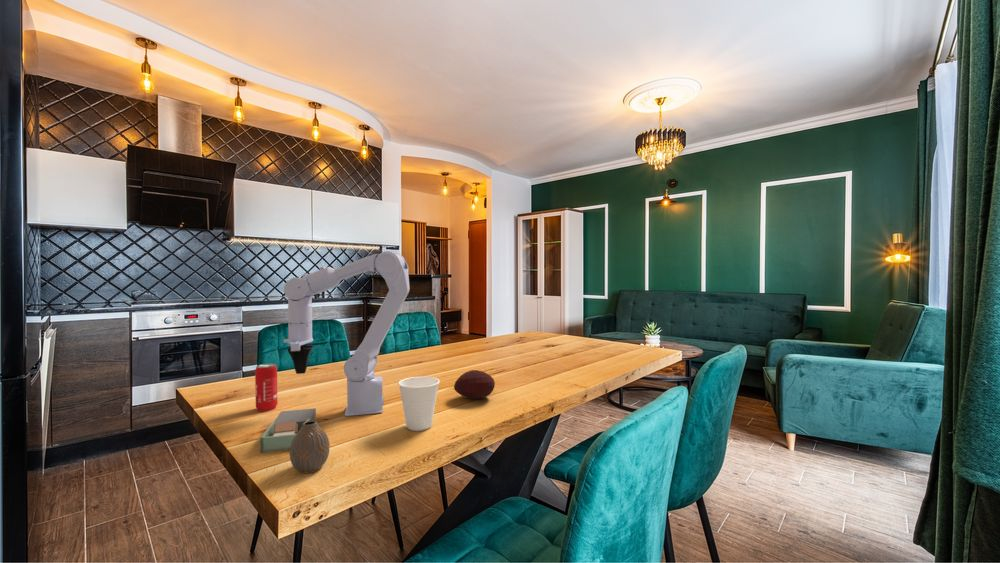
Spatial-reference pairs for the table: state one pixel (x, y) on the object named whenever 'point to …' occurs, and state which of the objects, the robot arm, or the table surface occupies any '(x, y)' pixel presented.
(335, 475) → the table surface
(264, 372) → the beverage can
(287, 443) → the box
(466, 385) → the dark brown oval lump
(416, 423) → the cup
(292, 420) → the ledge
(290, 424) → the tile terracotta
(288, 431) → the tile ivory
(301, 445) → the vase
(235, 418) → the table surface
